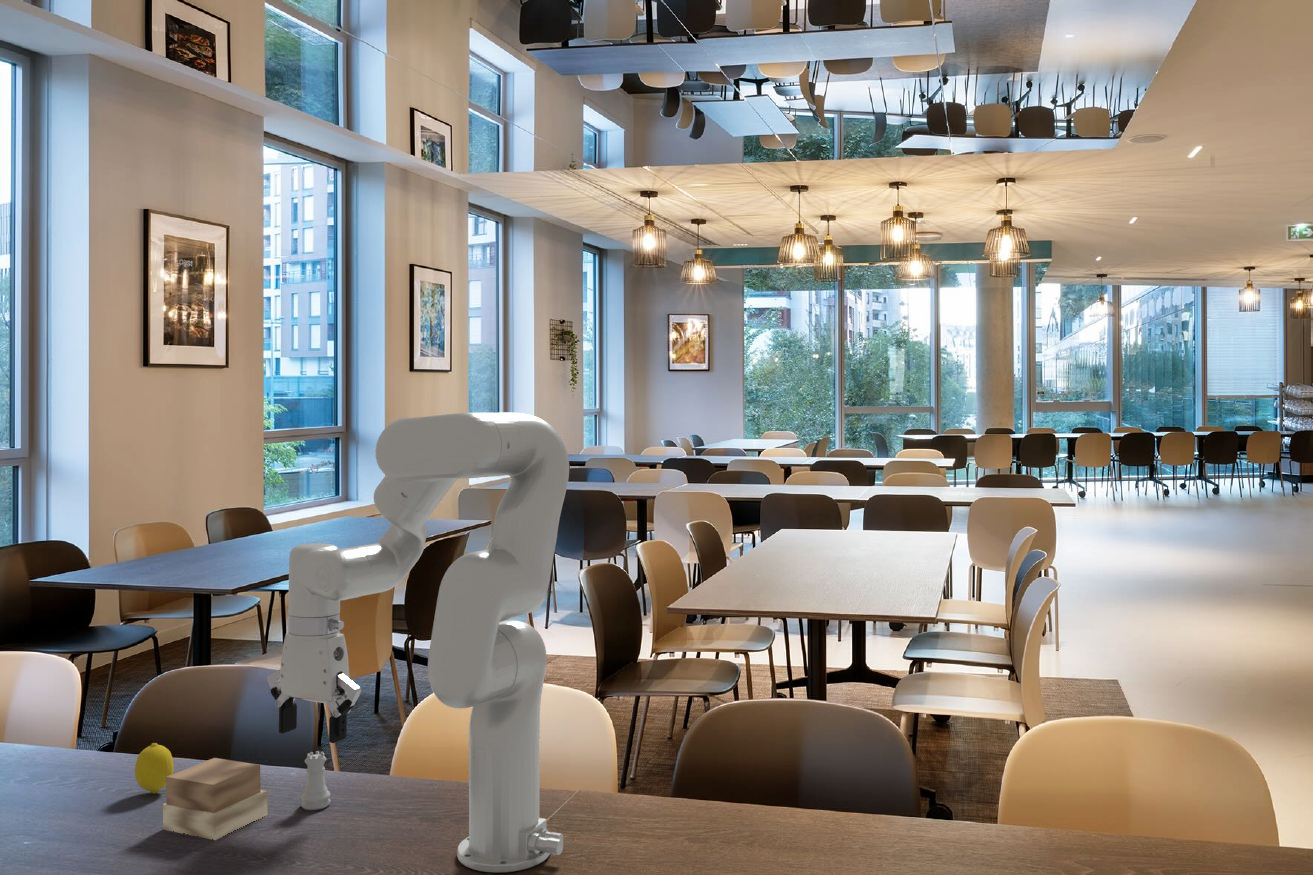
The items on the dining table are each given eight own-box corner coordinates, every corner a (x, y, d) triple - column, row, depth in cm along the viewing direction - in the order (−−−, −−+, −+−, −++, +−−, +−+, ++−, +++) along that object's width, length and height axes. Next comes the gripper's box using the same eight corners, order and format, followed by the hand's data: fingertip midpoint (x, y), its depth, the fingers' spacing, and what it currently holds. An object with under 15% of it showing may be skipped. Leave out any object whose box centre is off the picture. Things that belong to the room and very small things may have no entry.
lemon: (135, 790, 165) (135, 740, 165) (173, 785, 168) (173, 736, 167) (134, 802, 160) (134, 750, 160) (173, 796, 163) (173, 745, 162)
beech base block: (267, 817, 155) (267, 790, 155) (215, 842, 146) (215, 814, 146) (216, 808, 159) (216, 782, 159) (163, 831, 150) (162, 804, 150)
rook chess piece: (335, 800, 161) (335, 749, 161) (323, 811, 156) (323, 758, 156) (308, 799, 161) (307, 748, 161) (295, 810, 157) (295, 758, 157)
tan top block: (260, 791, 155) (260, 764, 154) (213, 812, 146) (213, 784, 146) (214, 783, 158) (214, 757, 158) (166, 804, 150) (165, 776, 150)
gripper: (375, 626, 159) (373, 737, 159) (287, 614, 165) (286, 721, 166) (342, 635, 152) (341, 751, 152) (252, 623, 158) (250, 734, 159)
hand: (312, 735), depth 159 cm, fingers open, 9 cm apart
